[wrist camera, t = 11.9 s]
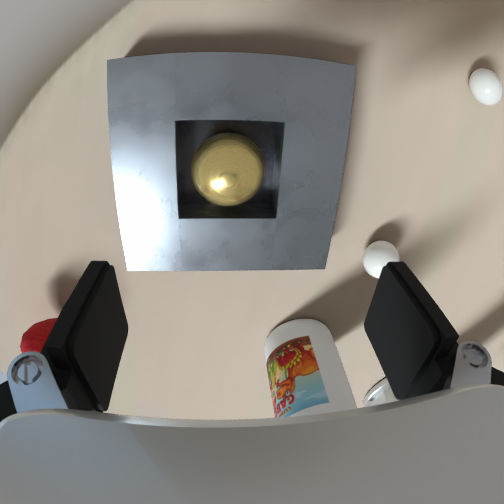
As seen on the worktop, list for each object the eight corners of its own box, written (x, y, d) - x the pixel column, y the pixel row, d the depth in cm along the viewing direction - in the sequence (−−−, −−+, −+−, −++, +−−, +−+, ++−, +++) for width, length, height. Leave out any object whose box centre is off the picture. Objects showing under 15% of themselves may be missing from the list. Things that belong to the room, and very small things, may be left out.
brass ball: (263, 128, 22) (272, 141, 17) (259, 191, 24) (266, 219, 20) (195, 127, 21) (185, 140, 17) (195, 190, 24) (187, 218, 20)
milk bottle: (329, 309, 32) (394, 488, 15) (329, 353, 36) (377, 503, 20) (258, 324, 32) (288, 516, 15) (268, 366, 36) (294, 524, 20)
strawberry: (83, 348, 33) (62, 417, 24) (33, 313, 29) (1, 379, 21) (105, 326, 31) (83, 402, 22) (50, 286, 27) (12, 358, 19)
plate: (340, 66, 20) (356, 66, 17) (315, 249, 28) (324, 269, 25) (121, 61, 18) (107, 60, 15) (135, 250, 26) (127, 270, 24)
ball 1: (393, 234, 28) (410, 253, 25) (384, 264, 30) (399, 285, 27) (361, 233, 28) (377, 253, 25) (353, 265, 29) (367, 287, 26)
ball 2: (486, 73, 19) (511, 78, 16) (483, 105, 21) (507, 113, 18) (463, 61, 19) (489, 65, 16) (459, 96, 21) (485, 102, 18)
